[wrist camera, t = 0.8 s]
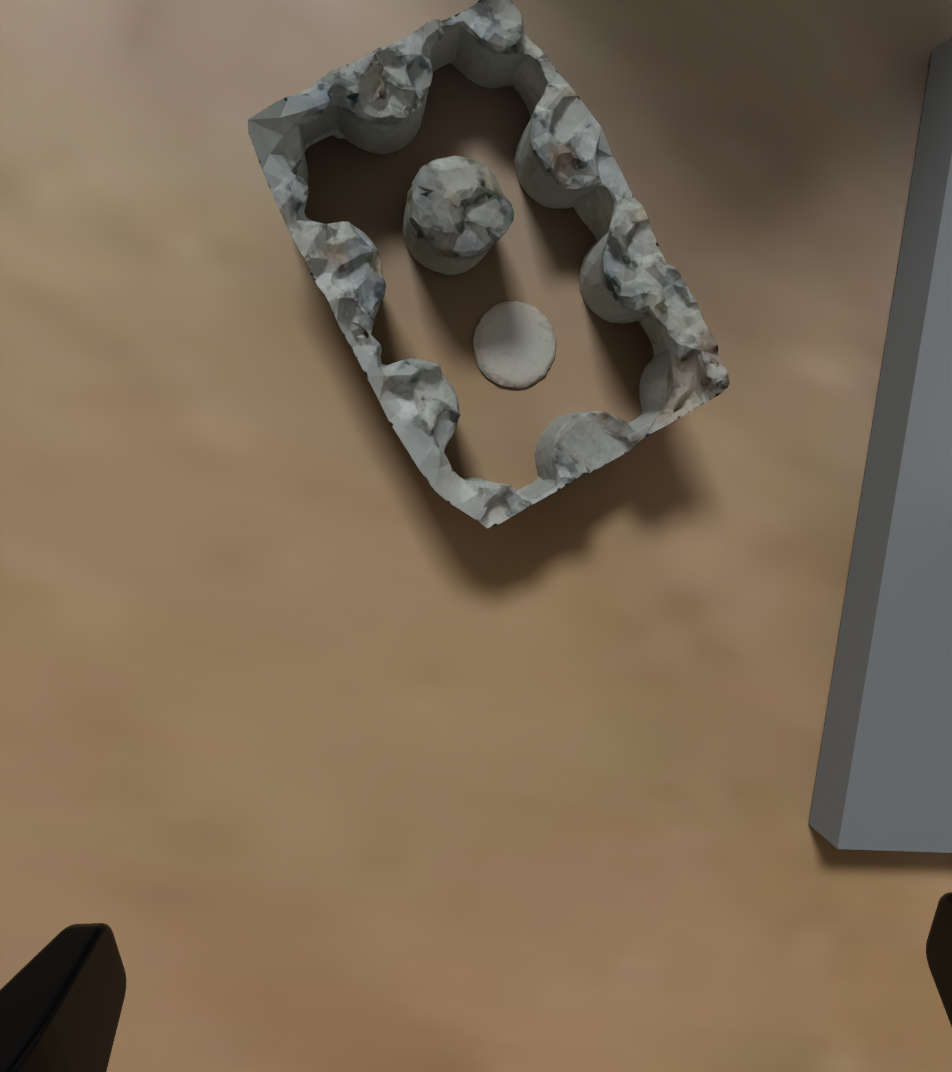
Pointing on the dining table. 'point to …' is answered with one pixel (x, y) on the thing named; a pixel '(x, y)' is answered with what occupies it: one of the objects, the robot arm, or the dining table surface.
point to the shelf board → (902, 549)
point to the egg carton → (488, 248)
